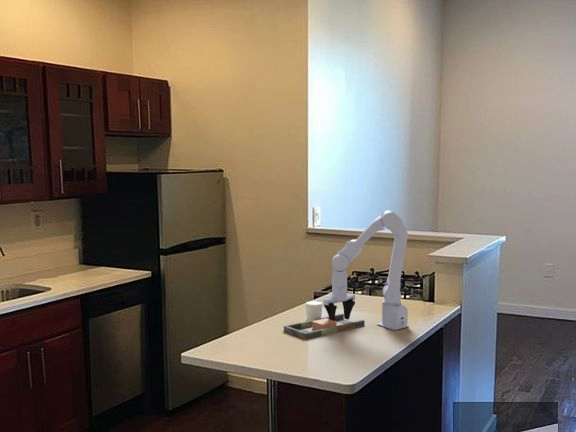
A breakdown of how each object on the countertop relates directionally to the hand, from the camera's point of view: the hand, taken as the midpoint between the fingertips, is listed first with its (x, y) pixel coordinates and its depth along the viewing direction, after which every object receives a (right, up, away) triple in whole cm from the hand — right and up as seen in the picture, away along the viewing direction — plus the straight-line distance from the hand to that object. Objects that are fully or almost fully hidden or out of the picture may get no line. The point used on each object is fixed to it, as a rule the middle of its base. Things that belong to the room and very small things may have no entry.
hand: (339, 320), depth 235 cm
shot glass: (-10, -1, +8) cm, 13 cm away
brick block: (-6, -3, -5) cm, 8 cm away
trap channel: (-6, -2, -4) cm, 7 cm away
